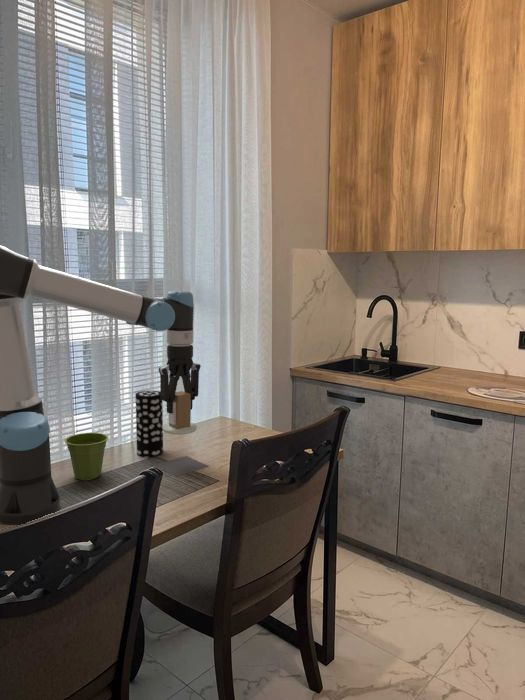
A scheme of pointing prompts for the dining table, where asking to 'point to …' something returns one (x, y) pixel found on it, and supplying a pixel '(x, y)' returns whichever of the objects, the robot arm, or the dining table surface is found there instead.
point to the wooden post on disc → (181, 416)
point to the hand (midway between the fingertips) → (179, 421)
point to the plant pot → (87, 454)
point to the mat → (181, 466)
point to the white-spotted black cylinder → (149, 424)
